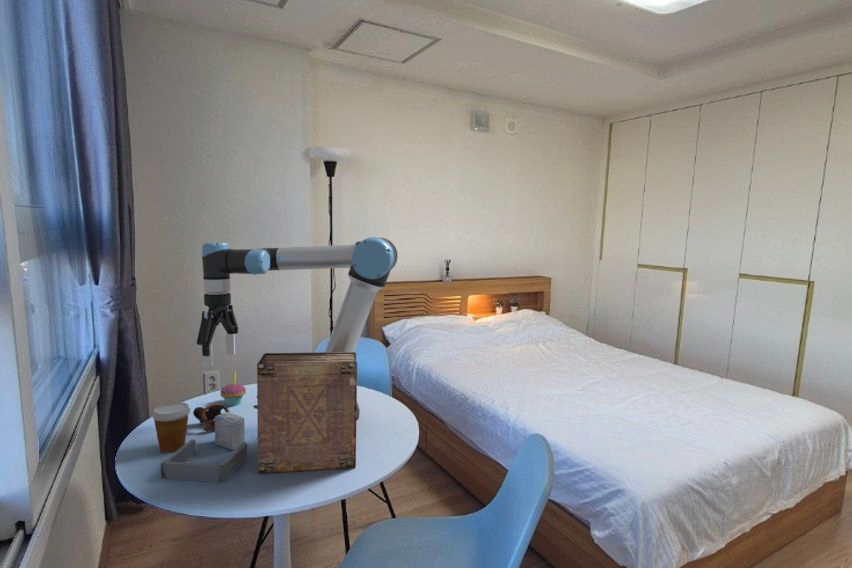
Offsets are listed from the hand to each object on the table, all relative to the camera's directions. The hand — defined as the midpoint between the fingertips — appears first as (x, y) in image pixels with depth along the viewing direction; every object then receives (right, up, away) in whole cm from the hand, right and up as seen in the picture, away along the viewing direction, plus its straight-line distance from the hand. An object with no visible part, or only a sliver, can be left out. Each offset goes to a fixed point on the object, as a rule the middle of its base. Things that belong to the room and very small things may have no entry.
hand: (219, 359), depth 138 cm
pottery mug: (-4, -22, +4) cm, 23 cm away
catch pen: (+6, -25, -20) cm, 33 cm away
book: (+32, -26, -16) cm, 45 cm away
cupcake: (-6, -20, +22) cm, 31 cm away
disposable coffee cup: (-8, -24, -11) cm, 28 cm away
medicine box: (+7, -24, -8) cm, 26 cm away
